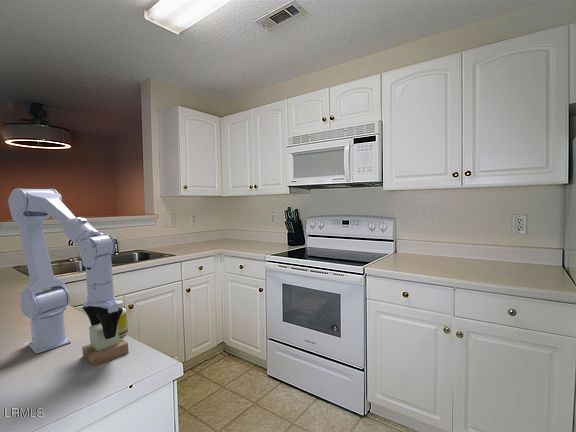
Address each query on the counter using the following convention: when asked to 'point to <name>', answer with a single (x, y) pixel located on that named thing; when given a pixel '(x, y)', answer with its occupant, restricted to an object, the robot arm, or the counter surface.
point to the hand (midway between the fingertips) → (104, 334)
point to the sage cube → (101, 338)
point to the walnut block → (104, 352)
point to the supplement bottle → (122, 320)
